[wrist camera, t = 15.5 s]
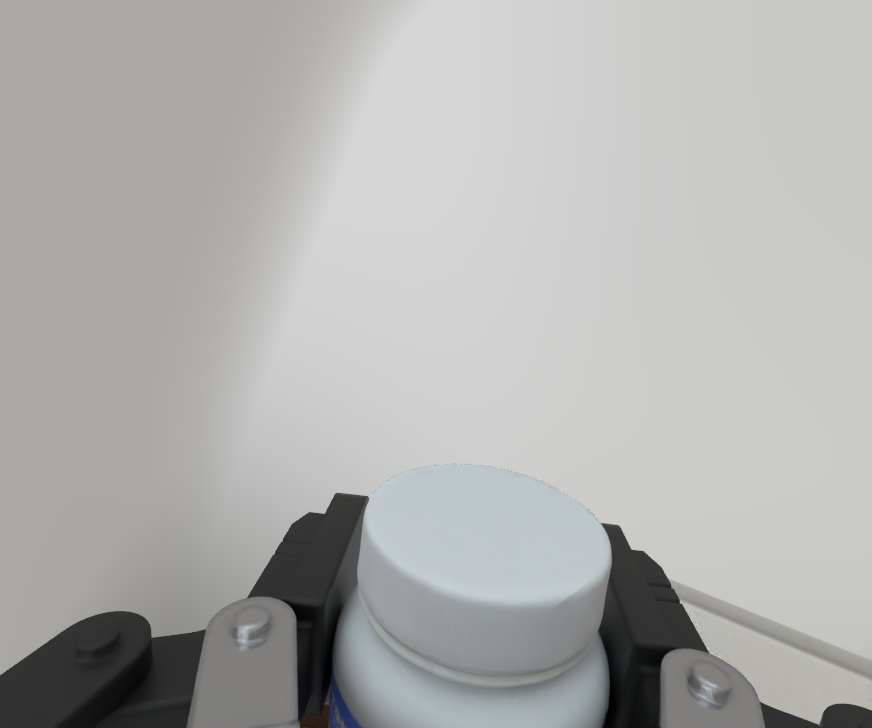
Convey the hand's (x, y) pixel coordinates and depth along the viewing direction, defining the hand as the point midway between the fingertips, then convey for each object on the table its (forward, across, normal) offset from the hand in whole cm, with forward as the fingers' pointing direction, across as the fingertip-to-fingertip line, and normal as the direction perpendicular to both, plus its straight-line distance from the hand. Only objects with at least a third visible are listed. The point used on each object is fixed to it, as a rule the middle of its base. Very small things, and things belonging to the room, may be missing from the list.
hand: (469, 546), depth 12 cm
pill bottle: (-3, 0, +6) cm, 7 cm away
